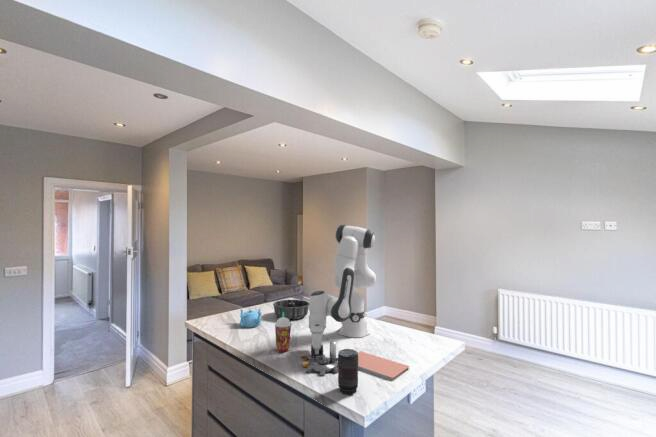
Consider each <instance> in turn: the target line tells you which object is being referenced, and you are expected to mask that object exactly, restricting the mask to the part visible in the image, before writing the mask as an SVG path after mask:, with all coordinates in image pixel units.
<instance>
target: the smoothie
mask: <svg viewBox="0 0 656 437" xmlns="http://www.w3.org/2000/svg"><path fill="white" fill-rule="evenodd" d="M274 327H275V328H274V332H275V349H276V351H277V353H280V354H281V353H287V352H289V350H290V343H291V333H292V332H291V329H292V323H291V321H290V320H289V319H288V318H286V317H284V312H283V317H281V318H279V317H278V319H277V320H276V322H275V323H274Z"/></svg>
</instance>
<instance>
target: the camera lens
mask: <svg viewBox="0 0 656 437" xmlns="http://www.w3.org/2000/svg"><path fill="white" fill-rule="evenodd" d="M358 352H359V351H357V350H355V349H353V348H352V349H351V348H344V349H343V348H342V349H341V350H339V351H338V354H337V358H338V361H337V362H338V369H339V370H338V372H337V382H338V383H337V384H338V388H339V392H340V393H341V394H344V395H350V396H351V395H354V394H356V393H357V391H358V390H357V389H358V386H359V385H358V384H359V369H358Z"/></svg>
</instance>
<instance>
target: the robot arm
mask: <svg viewBox="0 0 656 437" xmlns="http://www.w3.org/2000/svg"><path fill="white" fill-rule="evenodd" d="M335 239H336V242H337V243H338V245H337V249H336V252H335V256H334V260H333V268H334V270H335V271H336V272H335V273H334V276H333V282H334V284H335V285H336V287H338V288H339V290H338V296H337V297H336V296H333V295H331V294H328V293H327V292H326V291H324V290H317V291H313V292H312V293H311V294H310V296H309V301H308V302H309V309H308V313H309V315H308V328H309V330H310V334H311V342H312V343H311V344H312V345H313V349H315V354H319V349H320V348H321V345H322V343H323V342H322V340H323V335H324V334H323V333H324V332H325V330H326V328H327V317H328V316H330V317H331V318H333V319H334V321H335V322H338V323H341V328H340V330H339V331H338V334H339V335H342V336H345V337H348V338H355V339H356V338H363V337H366V336H369V335H371V333H370V331H369V330H368V321H367V319H366V317H365V315H366V314H365V298H364V297H363V295H361V294H359V293H358V292H356V291H355V289H360V288H362V289H363V288H365V289H366V288H367V289H368V288H371V287H374V286H375V284H376V282H377V275H376V273H375V272H374V271H373V270H372V269H370V267H369V265H368V262H367V260H368V249H371V248H372V247H373V246H374V244H375V242H376V234H375V232H374V230H373V231H372V230H371V229H367V228H363V227H360V226H356V225H355V226H353V225H347V224H341V225H339V226H338V227H337V229H336V231H335Z"/></svg>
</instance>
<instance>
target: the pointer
mask: <svg viewBox="0 0 656 437" xmlns="http://www.w3.org/2000/svg"><path fill="white" fill-rule="evenodd" d="M309 357H311V355H310V356H309V355H306V354H305V353H304V354H301V355H300V358H301V359H302V360H304V361H305V362H308V358H309Z"/></svg>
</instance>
